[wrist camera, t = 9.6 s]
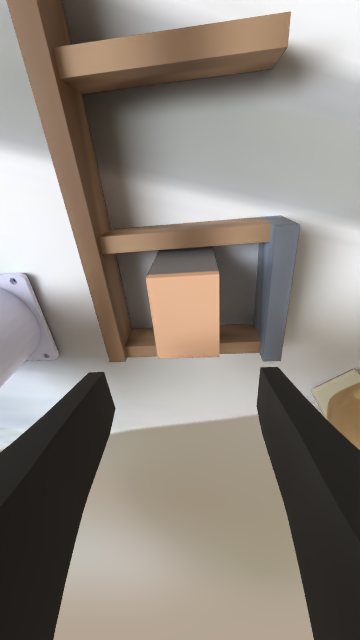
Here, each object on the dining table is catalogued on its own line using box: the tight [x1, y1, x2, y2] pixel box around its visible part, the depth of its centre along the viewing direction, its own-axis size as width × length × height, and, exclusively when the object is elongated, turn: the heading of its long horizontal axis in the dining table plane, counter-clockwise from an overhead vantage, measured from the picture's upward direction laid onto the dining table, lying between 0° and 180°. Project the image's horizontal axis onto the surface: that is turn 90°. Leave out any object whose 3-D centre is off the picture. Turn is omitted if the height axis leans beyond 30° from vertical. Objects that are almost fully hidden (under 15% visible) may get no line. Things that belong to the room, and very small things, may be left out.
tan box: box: [146, 246, 219, 359], centre depth 16 cm, size 4×5×6 cm
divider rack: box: [6, 0, 300, 362], centre depth 13 cm, size 12×25×4 cm, turn 5°
